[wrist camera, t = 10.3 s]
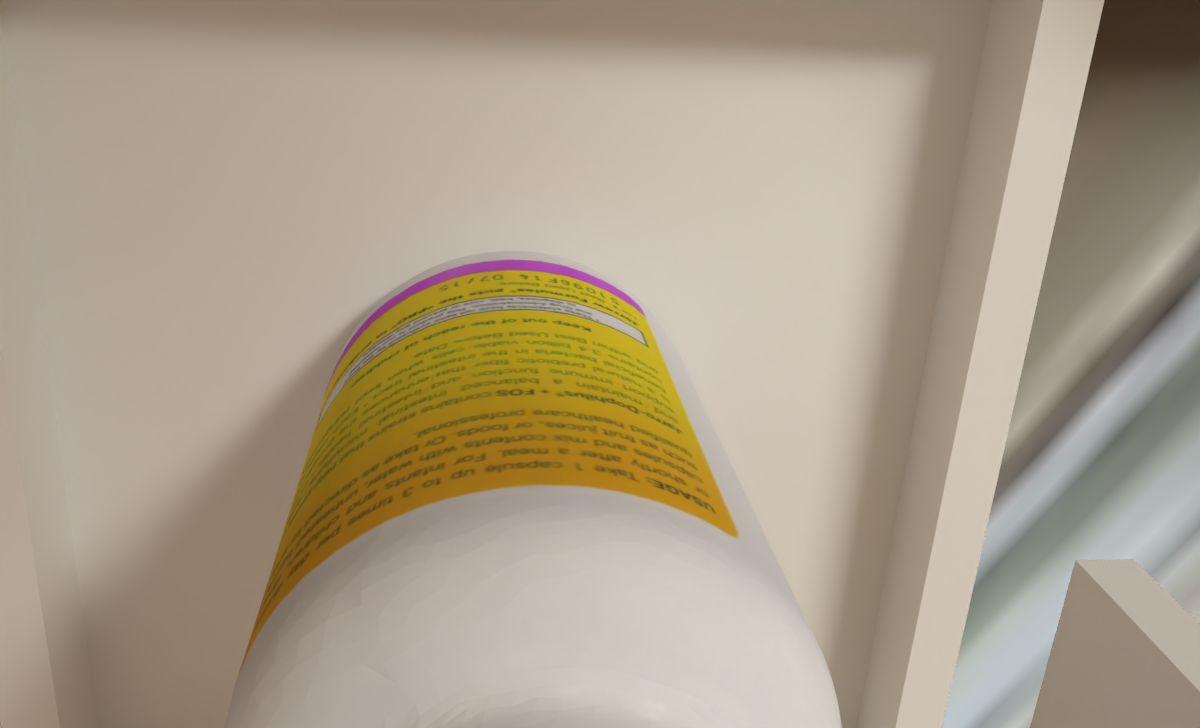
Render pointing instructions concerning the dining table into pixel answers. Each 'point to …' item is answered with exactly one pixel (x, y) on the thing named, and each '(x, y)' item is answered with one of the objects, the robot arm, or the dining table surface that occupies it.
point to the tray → (508, 223)
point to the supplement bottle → (523, 529)
